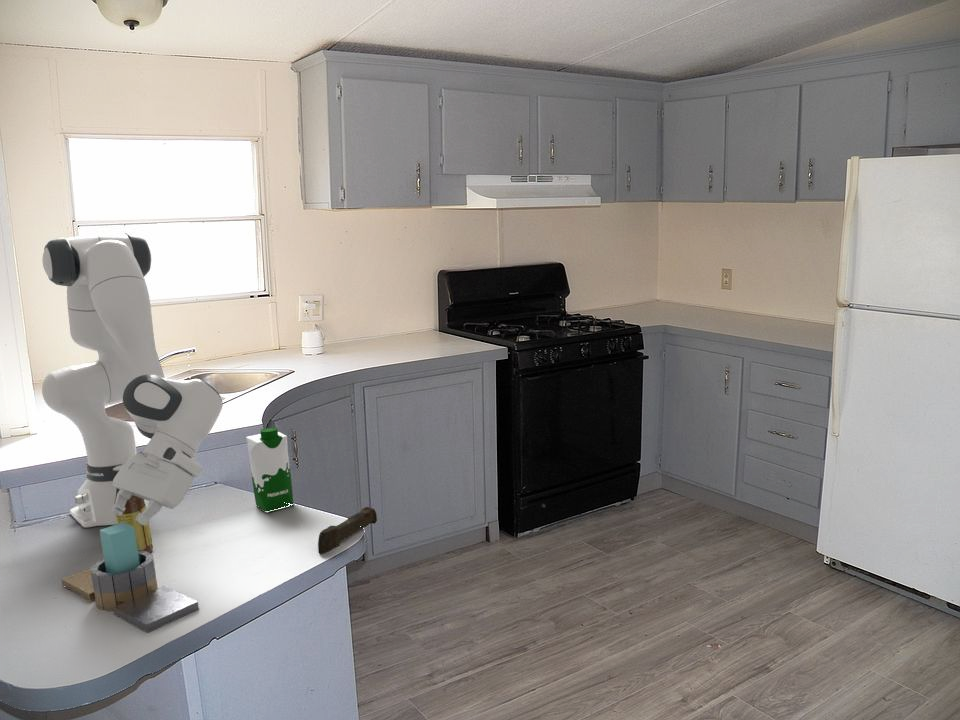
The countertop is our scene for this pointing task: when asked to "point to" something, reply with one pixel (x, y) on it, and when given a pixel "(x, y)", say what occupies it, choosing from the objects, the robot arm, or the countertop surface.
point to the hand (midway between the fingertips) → (127, 518)
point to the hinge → (132, 594)
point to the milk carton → (270, 469)
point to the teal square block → (119, 548)
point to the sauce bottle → (129, 516)
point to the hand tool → (345, 529)
